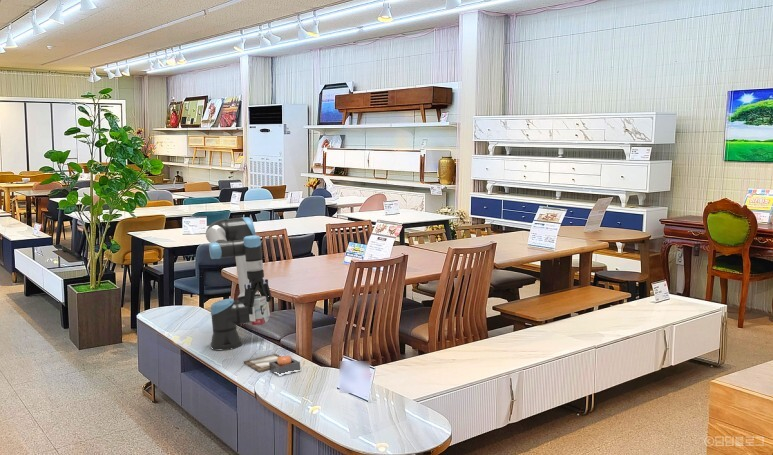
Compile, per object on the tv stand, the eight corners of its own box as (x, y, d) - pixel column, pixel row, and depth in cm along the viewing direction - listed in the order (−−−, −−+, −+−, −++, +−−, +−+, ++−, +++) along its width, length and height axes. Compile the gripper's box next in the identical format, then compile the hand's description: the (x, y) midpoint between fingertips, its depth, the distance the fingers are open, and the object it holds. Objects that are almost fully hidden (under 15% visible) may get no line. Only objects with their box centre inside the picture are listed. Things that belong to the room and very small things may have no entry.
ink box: (261, 325, 306) (259, 299, 305) (251, 325, 307) (248, 299, 306) (268, 320, 315) (266, 295, 314) (259, 320, 316) (256, 295, 315)
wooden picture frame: (243, 363, 313) (243, 361, 313) (275, 355, 322) (275, 353, 321) (259, 372, 298) (259, 369, 298) (292, 364, 307) (292, 361, 306)
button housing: (269, 371, 298) (269, 362, 298) (290, 366, 304) (289, 357, 303) (279, 376, 290) (278, 367, 290) (300, 371, 296) (299, 362, 295)
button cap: (275, 366, 298) (274, 357, 297) (288, 363, 301) (287, 354, 300) (281, 369, 293) (280, 360, 292) (294, 366, 296) (293, 357, 295)
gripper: (245, 274, 297) (250, 324, 299) (276, 265, 316) (281, 313, 318) (232, 274, 301) (237, 323, 303) (264, 265, 320) (268, 312, 322)
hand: (259, 318), depth 311 cm, fingers closed on ink box, 9 cm apart
